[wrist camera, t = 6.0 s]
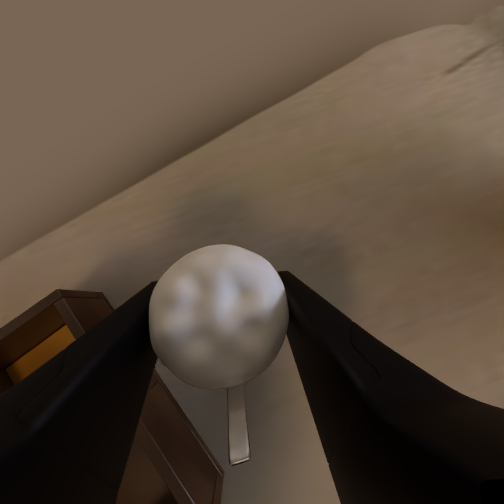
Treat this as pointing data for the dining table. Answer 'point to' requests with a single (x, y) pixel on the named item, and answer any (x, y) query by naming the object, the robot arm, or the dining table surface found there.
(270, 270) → the milkshake
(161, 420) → the organiser
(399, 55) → the dining table surface
